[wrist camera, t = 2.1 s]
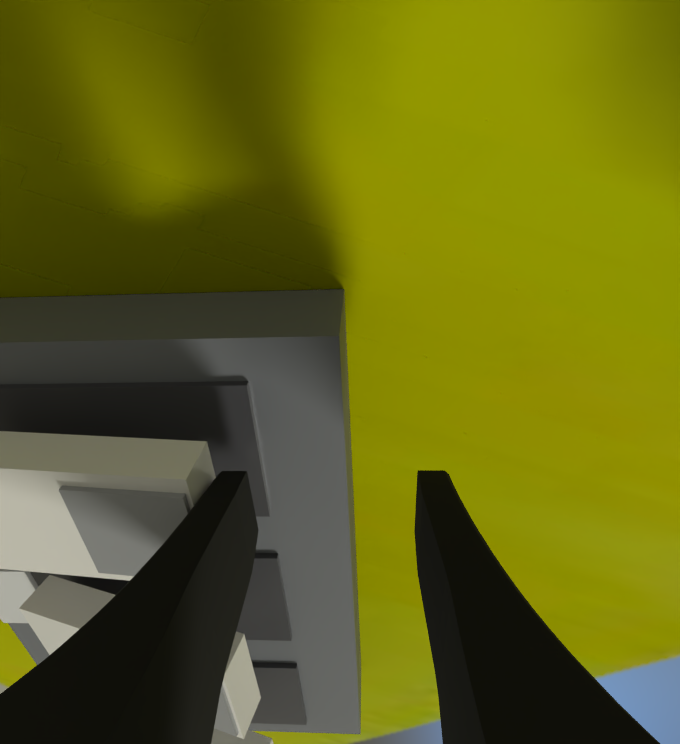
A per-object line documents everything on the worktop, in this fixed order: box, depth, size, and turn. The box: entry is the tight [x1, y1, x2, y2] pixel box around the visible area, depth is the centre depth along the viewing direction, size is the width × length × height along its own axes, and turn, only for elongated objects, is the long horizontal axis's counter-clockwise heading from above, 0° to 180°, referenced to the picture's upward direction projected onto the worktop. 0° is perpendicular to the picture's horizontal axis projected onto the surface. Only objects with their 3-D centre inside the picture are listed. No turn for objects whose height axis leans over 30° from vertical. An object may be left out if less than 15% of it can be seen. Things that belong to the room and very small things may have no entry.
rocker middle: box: [19, 575, 261, 739], centre depth 15 cm, size 7×4×1 cm, turn 93°
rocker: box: [0, 431, 216, 581], centre depth 12 cm, size 7×4×1 cm, turn 93°
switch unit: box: [0, 289, 361, 734], centre depth 18 cm, size 13×20×3 cm, turn 3°
